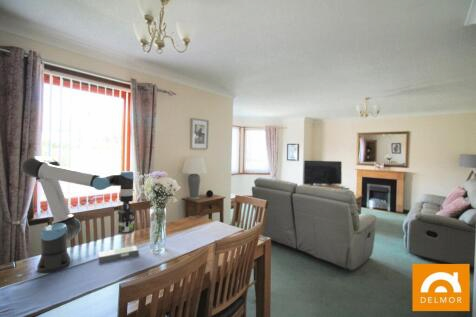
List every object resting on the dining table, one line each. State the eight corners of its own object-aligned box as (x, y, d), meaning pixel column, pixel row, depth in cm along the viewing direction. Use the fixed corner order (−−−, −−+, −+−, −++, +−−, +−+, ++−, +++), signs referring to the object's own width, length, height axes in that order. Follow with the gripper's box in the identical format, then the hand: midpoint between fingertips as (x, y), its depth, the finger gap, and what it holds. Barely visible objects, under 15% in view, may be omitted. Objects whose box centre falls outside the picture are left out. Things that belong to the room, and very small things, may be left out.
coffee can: (137, 232, 156) (138, 210, 156) (121, 236, 148) (122, 213, 148) (129, 228, 162) (129, 208, 162) (113, 232, 154) (114, 210, 154)
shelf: (98, 263, 141) (98, 257, 141) (98, 255, 152) (98, 250, 152) (138, 255, 153) (138, 250, 152) (135, 248, 163) (135, 243, 163)
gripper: (135, 197, 147) (134, 233, 147) (130, 191, 166) (130, 223, 167) (122, 198, 143) (121, 235, 143) (118, 192, 162) (118, 224, 163)
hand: (125, 228), depth 155 cm, fingers closed on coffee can, 10 cm apart
